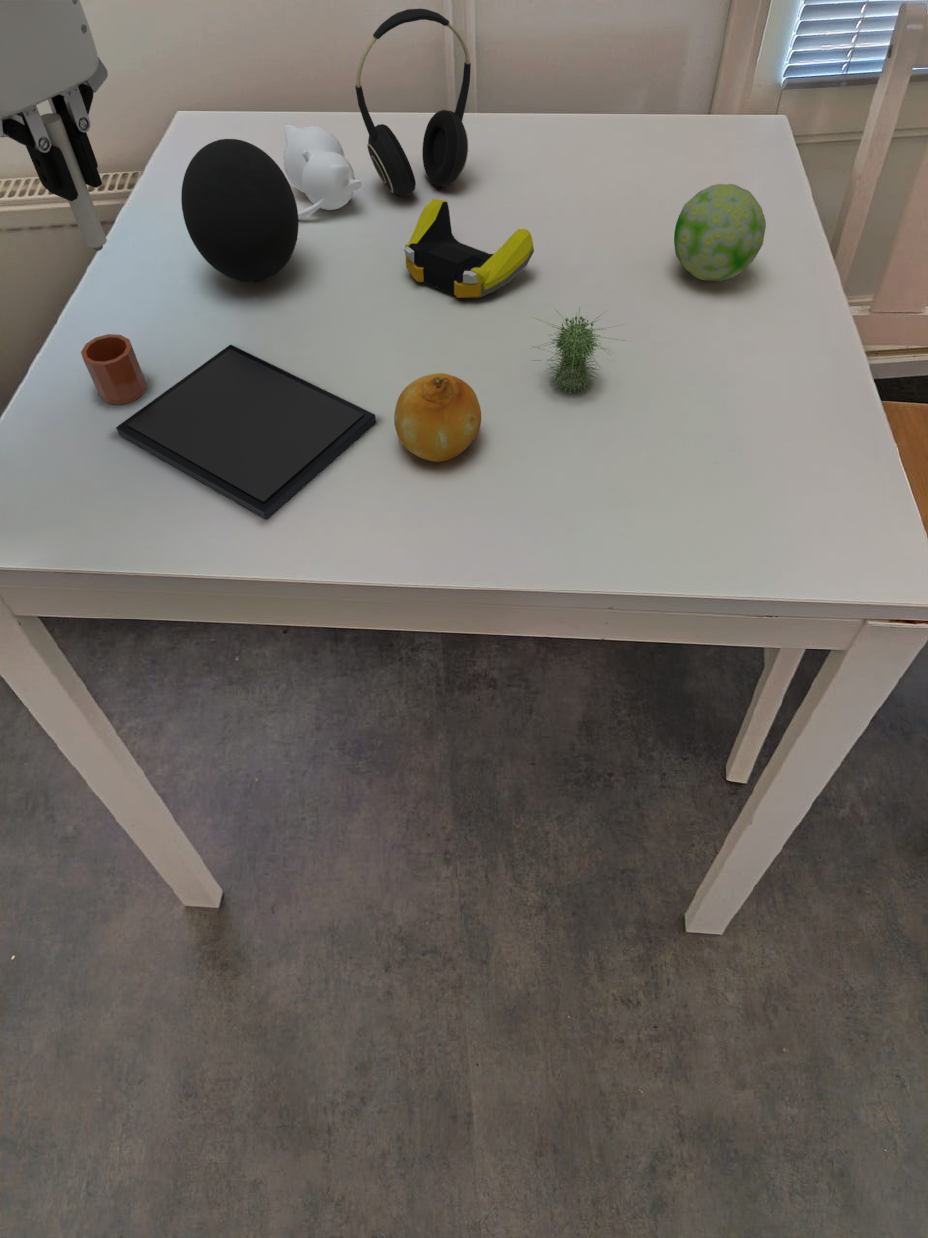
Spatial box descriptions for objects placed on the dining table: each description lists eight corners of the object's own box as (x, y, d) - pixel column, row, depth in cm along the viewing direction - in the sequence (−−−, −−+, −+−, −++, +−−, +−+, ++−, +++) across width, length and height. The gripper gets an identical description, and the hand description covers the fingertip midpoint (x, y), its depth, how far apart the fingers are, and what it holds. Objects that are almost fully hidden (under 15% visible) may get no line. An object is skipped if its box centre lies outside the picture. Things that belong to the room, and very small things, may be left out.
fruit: (470, 470, 77) (471, 379, 74) (385, 466, 78) (381, 377, 75) (486, 452, 84) (487, 369, 81) (407, 448, 86) (405, 367, 83)
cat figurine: (339, 141, 99) (303, 97, 105) (276, 207, 102) (244, 160, 108) (381, 192, 106) (345, 149, 112) (321, 253, 109) (289, 207, 115)
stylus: (98, 257, 72) (46, 125, 64) (84, 251, 73) (31, 119, 64) (114, 247, 73) (65, 116, 65) (100, 241, 74) (49, 110, 65)
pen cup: (121, 410, 86) (103, 370, 82) (90, 393, 88) (71, 352, 84) (156, 385, 88) (141, 344, 84) (125, 368, 90) (108, 328, 86)
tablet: (266, 519, 77) (263, 510, 76) (118, 435, 84) (114, 425, 83) (376, 422, 84) (375, 412, 83) (232, 351, 91) (229, 342, 90)
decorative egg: (329, 266, 101) (308, 133, 89) (260, 318, 95) (228, 185, 83) (251, 235, 105) (222, 105, 93) (180, 284, 99) (139, 152, 87)
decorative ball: (769, 283, 97) (796, 197, 89) (699, 308, 95) (719, 222, 87) (717, 242, 102) (737, 157, 94) (648, 264, 100) (663, 179, 92)
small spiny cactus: (636, 421, 84) (649, 358, 78) (516, 424, 84) (519, 361, 78) (621, 346, 91) (632, 283, 85) (510, 349, 91) (512, 286, 85)
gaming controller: (435, 234, 104) (385, 273, 100) (433, 190, 100) (381, 228, 95) (538, 273, 99) (490, 315, 94) (541, 228, 95) (491, 270, 90)
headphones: (356, 185, 112) (335, 8, 95) (457, 160, 115) (454, -14, 99) (379, 216, 107) (362, 35, 91) (484, 189, 111) (486, 11, 94)
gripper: (26, -139, 59) (117, 138, 74) (-184, -75, 51) (-35, 218, 66) (99, -122, 56) (178, 160, 71) (-111, -53, 49) (27, 247, 64)
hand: (75, 186), depth 69 cm, fingers closed on stylus, 1 cm apart
